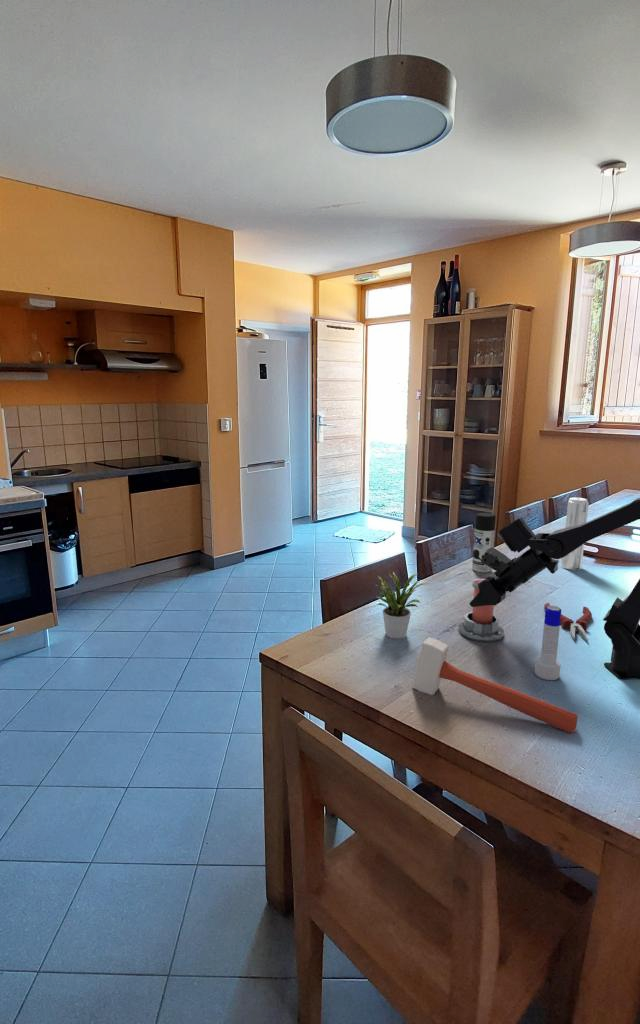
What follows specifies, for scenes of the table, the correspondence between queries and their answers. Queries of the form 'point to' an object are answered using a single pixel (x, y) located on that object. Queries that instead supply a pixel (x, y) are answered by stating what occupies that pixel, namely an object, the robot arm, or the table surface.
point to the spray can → (483, 540)
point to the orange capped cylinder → (481, 607)
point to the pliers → (579, 625)
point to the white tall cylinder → (575, 517)
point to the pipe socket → (480, 629)
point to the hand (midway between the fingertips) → (477, 599)
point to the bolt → (549, 646)
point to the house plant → (397, 607)
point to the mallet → (483, 687)
